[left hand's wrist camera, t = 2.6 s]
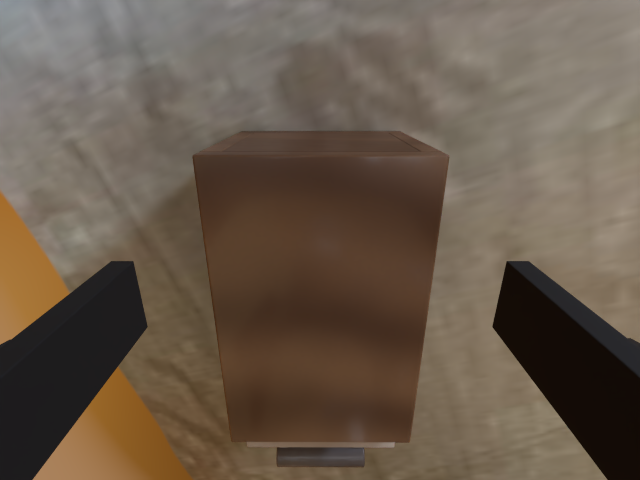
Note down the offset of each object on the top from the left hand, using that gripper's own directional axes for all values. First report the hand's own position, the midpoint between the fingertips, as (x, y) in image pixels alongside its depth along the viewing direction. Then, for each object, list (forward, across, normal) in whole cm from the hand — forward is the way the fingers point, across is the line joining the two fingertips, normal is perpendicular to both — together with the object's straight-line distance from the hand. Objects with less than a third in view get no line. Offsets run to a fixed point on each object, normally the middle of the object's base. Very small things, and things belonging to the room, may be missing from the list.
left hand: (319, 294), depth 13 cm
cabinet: (+13, 0, -4) cm, 14 cm away
